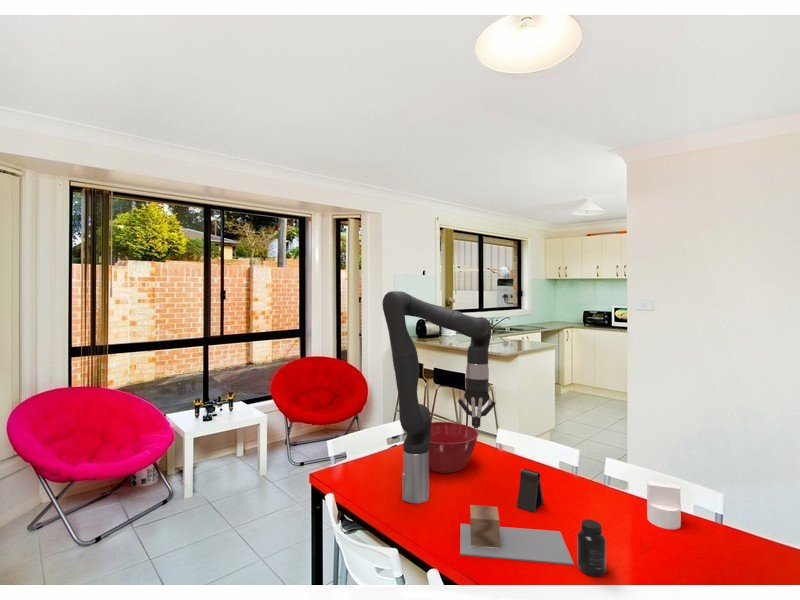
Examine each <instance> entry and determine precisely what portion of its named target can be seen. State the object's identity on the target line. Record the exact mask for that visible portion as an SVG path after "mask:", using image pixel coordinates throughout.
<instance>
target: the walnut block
mask: <svg viewBox="0 0 800 600" xmlns="http://www.w3.org/2000/svg"><path fill="white" fill-rule="evenodd" d="M469 506H470V507H469V510H470V513H469V515H470V517H469V518H470V535H471V546H473V547H485V548H496V549H500V538H499V527H500V515H499V511H498V506H494V505H493V506H491V505H476V504H475V505H474V504H470V505H469Z"/></svg>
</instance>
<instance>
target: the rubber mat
mask: <svg viewBox="0 0 800 600" xmlns="http://www.w3.org/2000/svg"><path fill="white" fill-rule="evenodd" d="M459 530H460V535H459V537H460V538H459V539H460V540H459V543H460V544H459V545H460V547H459V548H460V549H459V555H460V556H465V557H466V556H467V557H477V558H491V559H503V560H513V561H522V562H523V561H525V562H533V563H535V562H536V563H543V564H544V563H545V564H546V563H547V564H554V565H555V564H556V565H567V566H568V565H569V566H575V562H574V561H573V558H572V557H571V554H570V552H569V549H568V547H567V545H566V542H565V540H564V537H563V535H562V533H561V531H559V530H558V531H557V530H546V529H534V528H533V529H532V528H523V527H522V528H521V527H520V528H519V527H509V526H499V538H500V549H496V548H485V547H473V546H471V535H470V524H468V523H460V529H459Z"/></svg>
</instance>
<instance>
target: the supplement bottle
mask: <svg viewBox="0 0 800 600" xmlns="http://www.w3.org/2000/svg"><path fill="white" fill-rule="evenodd" d="M580 524H581V526H580V530H579V531H578V532H577V537H576V539H577V544H576V546H577V549H576V550H577V567H578V568H579V570H580V571H581V572H582V573H583V574H585V575H587V576H590V577H596V578H598V577H602V576H604V575H605V574H606V572H607V549H606V548H607V546H606V545H607V544H606V543H607V542H606V537H605V536H604V534H603V533H602V532H603V530H602V523H600V522H599V521H596V520H594V519H589V518H588V519H585V518H584V519H583V520H581V523H580Z"/></svg>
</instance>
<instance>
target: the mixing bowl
mask: <svg viewBox="0 0 800 600" xmlns="http://www.w3.org/2000/svg"><path fill="white" fill-rule="evenodd" d="M478 437H479V432H478V430H477V428H474V427H473V426H470V425H467V424H462V423H457V422H450V421H431V439H430V444H429V470H431V471H434V472H436V471H437V473H445V474H447V473H451V474H452V473H456V472H459V471H461V470H463V468H465V467H466V466H467V464H468V463H469V461H470V458H471V457H472V455H473V454H474V453H473V452H474V450H475V447H476V444H477V441H478Z"/></svg>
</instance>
